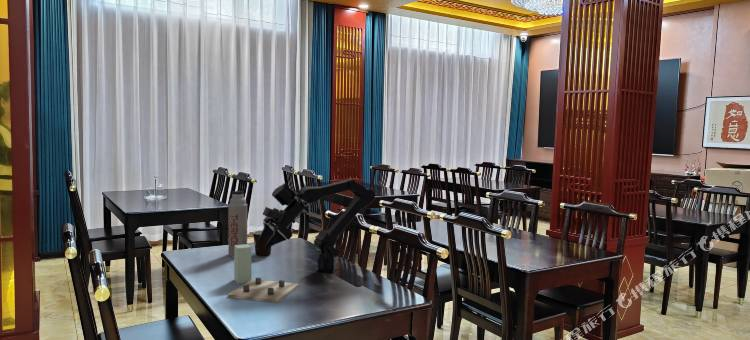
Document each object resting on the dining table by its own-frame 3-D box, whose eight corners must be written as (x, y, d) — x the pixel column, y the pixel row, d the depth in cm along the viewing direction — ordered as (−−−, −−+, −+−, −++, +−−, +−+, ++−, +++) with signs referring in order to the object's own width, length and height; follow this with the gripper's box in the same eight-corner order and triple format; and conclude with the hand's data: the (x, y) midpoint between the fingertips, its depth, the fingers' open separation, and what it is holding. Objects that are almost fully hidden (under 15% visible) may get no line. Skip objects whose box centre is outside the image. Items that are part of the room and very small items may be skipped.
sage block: (247, 278, 199) (247, 244, 197) (251, 281, 194) (251, 247, 193) (234, 279, 196) (234, 245, 195) (237, 283, 192) (237, 248, 191)
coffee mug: (270, 257, 228) (270, 234, 227) (250, 256, 229) (250, 234, 228) (276, 250, 240) (276, 229, 239) (257, 250, 240) (257, 228, 239)
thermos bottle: (238, 257, 226) (238, 193, 224) (224, 255, 230) (224, 191, 228) (251, 253, 234) (251, 191, 231) (237, 251, 237) (237, 189, 235)
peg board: (298, 286, 190) (298, 278, 190) (277, 303, 172) (277, 294, 172) (252, 281, 194) (252, 273, 194) (227, 297, 177) (227, 288, 176)
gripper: (268, 196, 207) (240, 225, 202) (284, 203, 190) (254, 235, 186) (287, 214, 211) (260, 244, 207) (304, 223, 195) (275, 255, 190)
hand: (261, 244), depth 197 cm, fingers open, 9 cm apart
